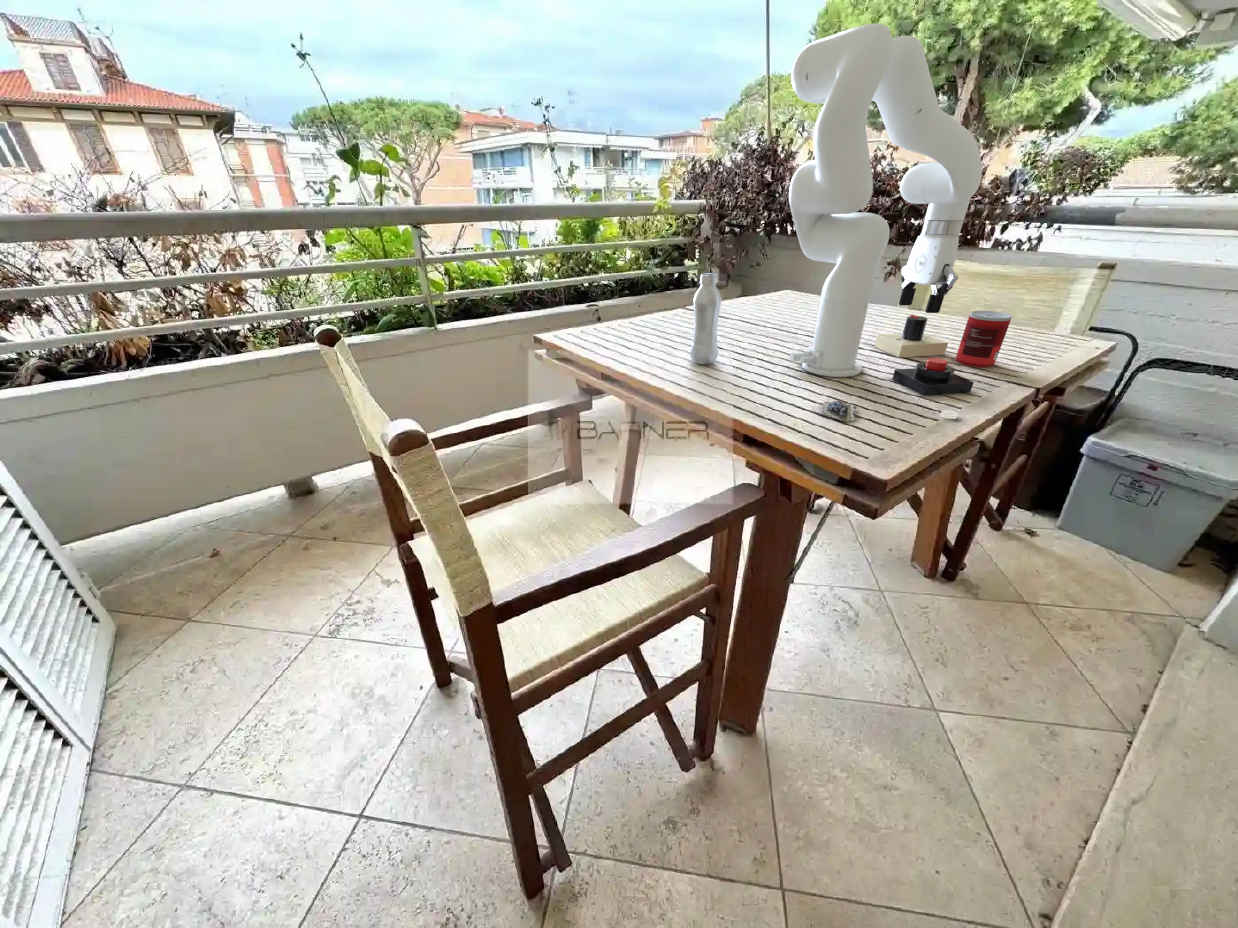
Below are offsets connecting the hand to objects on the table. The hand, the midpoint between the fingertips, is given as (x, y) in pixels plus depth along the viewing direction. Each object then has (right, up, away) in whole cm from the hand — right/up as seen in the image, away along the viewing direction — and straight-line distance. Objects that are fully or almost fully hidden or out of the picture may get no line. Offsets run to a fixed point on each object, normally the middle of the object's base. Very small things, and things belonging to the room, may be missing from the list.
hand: (917, 308), depth 116 cm
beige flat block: (+1, -9, +5) cm, 10 cm away
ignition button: (-8, -18, -19) cm, 27 cm away
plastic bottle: (-52, -13, 0) cm, 53 cm away
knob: (+1, -6, +4) cm, 7 cm away
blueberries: (-31, -28, -28) cm, 51 cm away
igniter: (-8, -21, -17) cm, 28 cm away
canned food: (+10, -14, -4) cm, 18 cm away
